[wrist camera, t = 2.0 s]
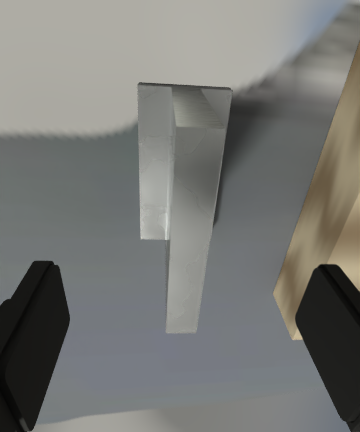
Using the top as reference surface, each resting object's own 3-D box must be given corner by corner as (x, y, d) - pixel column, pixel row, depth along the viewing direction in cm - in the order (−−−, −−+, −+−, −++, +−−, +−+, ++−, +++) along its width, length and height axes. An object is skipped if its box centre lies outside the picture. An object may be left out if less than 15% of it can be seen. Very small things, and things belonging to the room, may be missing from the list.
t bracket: (139, 82, 15) (116, 123, 8) (228, 87, 16) (282, 131, 9) (141, 230, 21) (129, 333, 14) (208, 232, 21) (231, 332, 14)
